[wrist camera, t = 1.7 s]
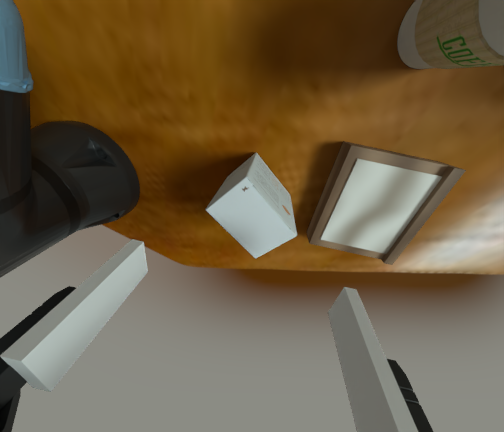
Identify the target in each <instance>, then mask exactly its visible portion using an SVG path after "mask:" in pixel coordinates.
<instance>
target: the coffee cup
mask: <svg viewBox="0 0 504 432" xmlns="http://www.w3.org/2000/svg"><path fill="white" fill-rule="evenodd" d="M397 47H398V53H399V55H400V58H401V60H402V61H403V62H404V63H405V64H406V65H407V66H409V67H411V68H414V69H428V68H441V69H452V68H468V67H483V66H499V65H504V0H416V1H415V2H414V3H413V4H412V5H411V7H410V8H409V10H408V11H407V13H406V15H405V17H404V19H403V21H402V24H401V26H400V29H399V34H398V41H397Z"/></svg>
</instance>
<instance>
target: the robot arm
mask: <svg viewBox="0 0 504 432" xmlns="http://www.w3.org/2000/svg"><path fill="white" fill-rule="evenodd" d="M32 89H33V80H32V78H31V73H30V71H29V70H28V64H27V54H26V44H25V35H24V26H23V22H22V18H21V15H20V13H19V11H18V9H17V7H16V5H15V3H14V2H13V0H0V277H2V276H4V275H5V274H7V273H8V272H10V271H12V270H13V269H15V268H17V267H18V266H20V265H22V264H23V263H25V262H26V261H28V260H30V259H31V258H33V257H35V256H36V255H38V254H40V253H41V252H43V251H44V250H46V249H48V248H49V247H51V246H53V245H54V244H56V243H58V242H59V241H61V240H63V239H64V238H66V237H67V236H69V235H71V234H72V233H74V232H76V231H78V230H81V229H85V228H89V227H93V226H97V225H101V224H104V223H108V222H112V221H115V220H117V219H119V218H121V217H123V216H124V215H126V214H127V213H129V212H130V211H131V210H132V209H133V208H134V207H135V206H136V204H137V202H138V199H139V193H140V187H139V181H138V177H137V174H136V171H135V169H134V167H133V165H132V163H131V161H130V160H129V158H128V157H127V155H126V154H125V153H124V151H123V150H122V149H121V148H120V147H119V146H118V145H117V144H116V143H115V142H114V141H113V140H112V139H111V138H110V137H108V136H107V135H106V134H104V133H103V132H101V131H100V130H98V129H96V128H94V127H92V126H90V125H88V124H85V123H81V122H76V121H57V122H48V123H44V124H41V125H39V126H37V127H35V128H32V129H30V93H29V91H31V90H32ZM147 272H148V269H147V263H146V255H145V248H144V242H142V241H138V240H133V239H132V240H131V241H129V242H128V243H127V244H126V245H125V246H124V247H123V248H121V249H120V250H119V251H118V252H117V253H116V254H115V255H114V256H112V257H111V258H110V259H109V260H108V261H107V262H106V263H104V264H103V265H102V266H101V267H100V268H99V269H98V270H97V271H95V272H94V273H93V274H92V275H91V276H90V277H89V278H88V279H87V280H85V281H84V282H83V283H82V284H81V285H80V286H78V288H75V287H70V286H69V287H67V288H65V289H63V290H61V291H59V292H57V293H56V294H54V295H53V296H52V297H51V298H49V299H48V300H47V301H46V302H44V303H43V305H42V306H40V307H38V308H37V309H36V310H35V311H33V312H32V314H31V315H29V316H27V317H26V318H25V319H24V320H22V321H21V322H20V323H19V324H18V325H16V326H15V327H14V328H13V329H12V330H10V331H9V332H8V333H7V334H5V335H4V336H3V337H2V338H1V339H0V432H11V431H12V426H13V423H14V418H15V415H16V411H17V407H18V403H19V398H20V389H21V388H22V387H23V386H24V385H25V383H26V382H27V383H28V384H29V385H31V386H32V387H33V388H36V389H40V390H45V391H49V392H51V391H52V390H53V388H54V387H55V386H56V385H57V383H58V382H59V381H60V380H61V378H62V377H63V376H64V375H65V374H66V372H67V371H68V370H69V369H70V367H71V366H72V365H73V363H74V362H75V361H76V360H77V359H78V357H79V356H80V355H81V354H82V353H83V351H84V350H85V349H86V348H87V346H88V345H89V344H90V343H91V341H92V340H93V339H94V338H95V336H96V335H97V334H98V333H99V332H100V330H101V329H102V328H103V326H104V325H105V324H106V323H107V322H108V320H109V319H110V318H111V317H112V315H113V314H114V313H115V312H116V310H117V309H118V308H119V307H120V305H121V304H122V303H123V302H124V300H125V299H126V298H127V297H128V296H129V294H130V293H131V292H132V291H133V289H134V288H135V287H136V286H137V284H138V283H139V282H140V281H141V279H142V278H143V277H144V276H145V275H146V273H147ZM328 315H329V319H330V324H331V328H332V332H333V336H334V340H335V343H336V348H337V352H338V356H339V360H340V364H341V368H342V372H343V377H344V381H345V385H346V389H347V393H348V397H349V401H350V405H351V409H352V413H353V417H354V422H355V425H356V430H357V432H433V430H432V428H431V426H430V424H429V422H428V420H427V418H426V416H425V414H424V412H423V409H422V407H421V406H420V405H419V401H418V399H417V398H416V395H415V393H414V392H413V389H412V387H411V384H410V382H409V380H408V378H407V376H406V374H405V373H404V372H403V370H402V369H401V368H400V366H399V365H398V364H397V362H396V361H394V360H390V359H386V357H385V354H384V352H383V350H382V347H381V345H380V343H379V340H378V338H377V336H376V334H375V331H374V329H373V327H372V324H371V322H370V320H369V317H368V315H367V313H366V311H365V308H364V306H363V304H362V301H361V299H360V297H359V294H358V292H357V290H356V289H351V288H347V287H344V288H343V290H342V291H341V293H340V295H339V296H338V298H337V299H336V301H335V302H334V304H333V306H332V307H331V308H330V310H329V311H328Z"/></svg>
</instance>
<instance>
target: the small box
mask: <svg viewBox="0 0 504 432" xmlns="http://www.w3.org/2000/svg"><path fill="white" fill-rule="evenodd" d="M206 211H207V212H208V213H209V214H210V215H211V216H212V217H213V218H214V219H215V220H216V221H217V222H218V223H219V224H220V225H221V226H222V227H223V228H224V229H225V230H226V231H227V232H229V233H230V234H231V235H232V236H233V237H234V238H235V239H236V240H237V241H238V242H239V243H240V244H241V245H242V246H243V247H244V248H245V249H246V250H247V251H248V252H249V253H250V254H251V255H252V256H253V257H254V258H257V257H259V256H261V255H263V254H265V253H267V252H268V251H270V250H272V249H274V248H276V247H278V246H279V245H281V244H283V243H285V242H287V241H289V240H290V239H292V238H294V237H296V236H297V232H296V226H295V220H294V214H293V209H292V203H291V197H290V194H289V193H288V192H287V190H286V189H285V188H284V187H283V185H282V184H281V183H280V182H279V180H278V179H277V178H276V177H275V175H274V174H273V173H272V171H271V170H270V169H269V168H268V166H267V165H266V164H265V163H264V161H263V160H262V159H261V158H260V156H259V155H258V154H257V153H255V154H254V155H252V156H251V157H250V158H249V159H248V160H246V161H245V162H244V163H243V164H242V165H241V166H239V167H238V168H237V169H236V170H235V171H233V172H232V173H231V174H230V175H229V176H228V177H227V178H226V180H225V181H224V183H223V184H222V185H221V187H220V188H219V190H218V191H217V193H216V194H215V196H214V197H213V199H212V200H211V202H210V203H209V205H208V206H207V208H206Z"/></svg>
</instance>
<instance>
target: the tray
mask: <svg viewBox="0 0 504 432" xmlns="http://www.w3.org/2000/svg"><path fill="white" fill-rule="evenodd" d="M465 171H466V170H463V169H460V168H457V167H454V166H451V165H448V164H445V163H442V162H438V161H434V160H429V159H424V158H420V157H415V156H410V155H405V154H401V153H396V152H391V151H387V150H382V149H377V148H373V147H368V146H363V145H359V144H354V143H349V142H344V141H343V143H342V146H341V148H340V151H339V153H338V156H337V158H336V161H335V163H334V166H333V168H332V170H331V173H330V175H329V178H328V180H327V183H326V185H325V188H324V190H323V193H322V195H321V198H320V200H319V202H318V205H317V207H316V210H315V212H314V215H313V217H312V220H311V222H310V225H309V227H308V230H307V236H308V240H309V243H310V244H314V245H319V246H323V247H328V248H333V249H337V250H342V251H346V252H351V253H355V254H360V255H364V256H369V257H374V258H378V259H381V260H382V261H383V262H384V263H386V264H391V265H392V264H393V263H394V262H395V261H396V259H397V258H398V257H399V255H400V254H401V253H402V252H403V250H404V249H405V248H406V246H407V245H408V244H409V243H410V241H411V240H412V239H413V237H414V236H415V235H416V234H417V232H418V231H419V230H420V228H421V227H422V226H423V225H424V223H425V222H426V221H427V219H428V218H429V217H430V216H431V214H432V213H433V212H434V210H435V209H436V208H437V207H438V205H439V204H440V203H441V201H442V200H443V199H444V198H445V196H446V195H447V194H448V192H449V191H450V190H451V189H452V187H453V186H454V185H455V183H456V182H457V181H458V180H459V178H460V177H461V176H462V175H463V173H464V172H465Z"/></svg>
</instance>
